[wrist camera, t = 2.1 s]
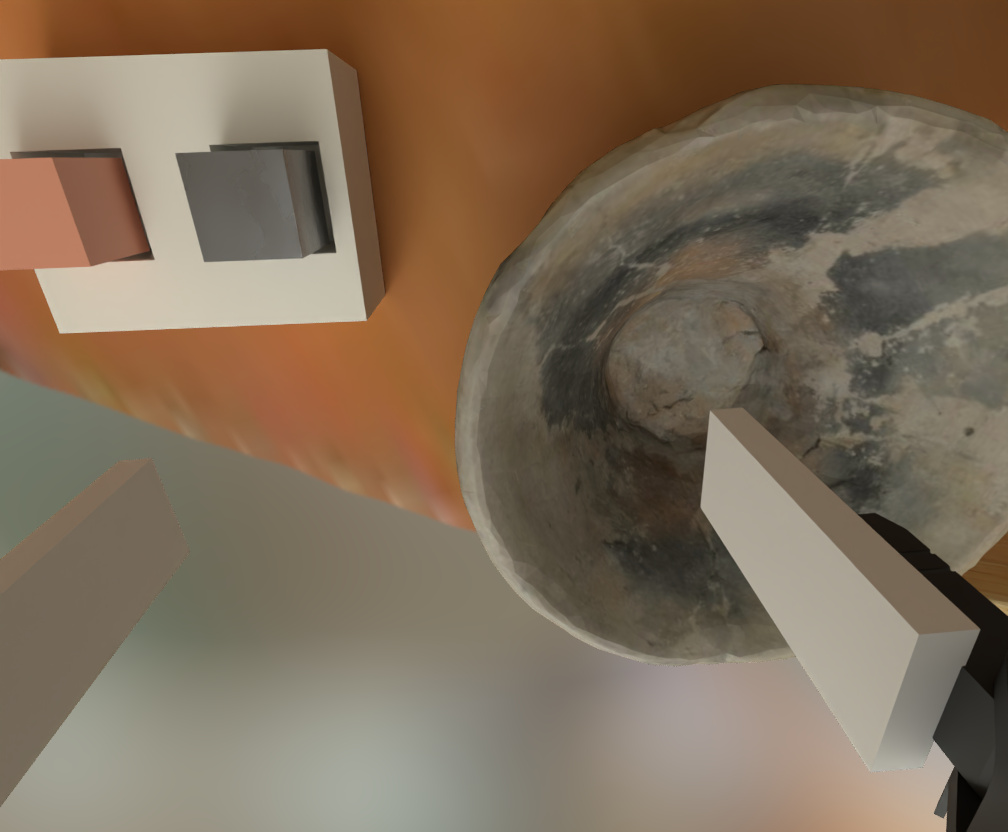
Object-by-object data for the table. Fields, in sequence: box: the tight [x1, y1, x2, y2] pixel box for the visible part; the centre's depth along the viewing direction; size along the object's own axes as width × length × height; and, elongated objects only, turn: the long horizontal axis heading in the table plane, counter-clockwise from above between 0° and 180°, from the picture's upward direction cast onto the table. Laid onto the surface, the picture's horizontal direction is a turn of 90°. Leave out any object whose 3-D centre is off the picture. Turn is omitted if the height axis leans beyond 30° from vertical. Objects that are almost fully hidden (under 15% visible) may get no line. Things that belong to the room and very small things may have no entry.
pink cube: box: [0, 157, 150, 270], centre depth 24 cm, size 4×4×4 cm
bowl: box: [455, 84, 1008, 666], centre depth 29 cm, size 27×26×15 cm
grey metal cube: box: [175, 149, 330, 262], centre depth 24 cm, size 4×4×4 cm
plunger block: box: [0, 49, 385, 333], centre depth 28 cm, size 12×16×6 cm
